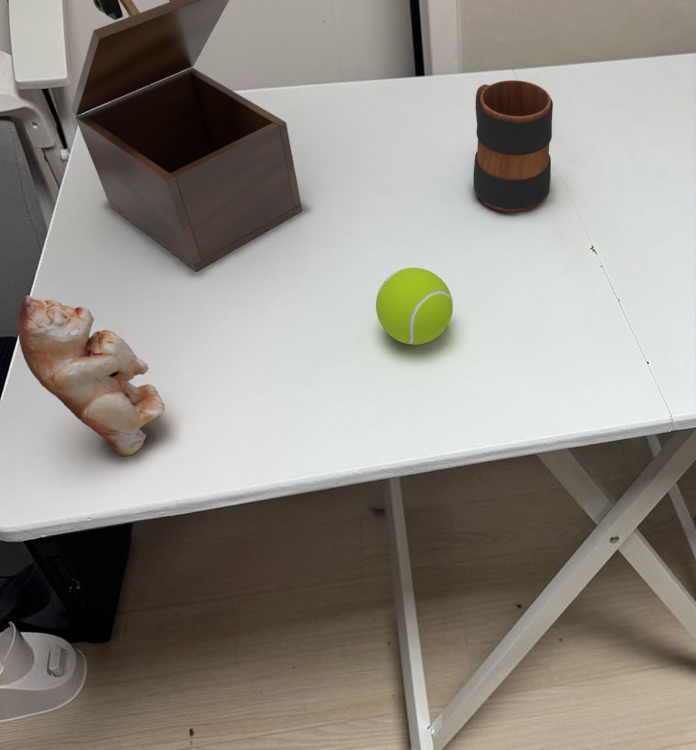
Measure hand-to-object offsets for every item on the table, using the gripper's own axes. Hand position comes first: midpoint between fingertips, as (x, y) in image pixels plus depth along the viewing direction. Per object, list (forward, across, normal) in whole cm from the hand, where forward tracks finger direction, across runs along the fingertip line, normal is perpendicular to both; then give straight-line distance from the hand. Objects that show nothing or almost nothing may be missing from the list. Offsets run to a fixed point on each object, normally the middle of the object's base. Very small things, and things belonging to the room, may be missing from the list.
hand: (142, 5), depth 75 cm
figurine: (+23, +23, +22) cm, 39 cm away
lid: (+5, 0, -1) cm, 5 cm away
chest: (+22, 0, 0) cm, 22 cm away
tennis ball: (+23, -2, +31) cm, 38 cm away
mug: (+23, -26, +21) cm, 40 cm away
